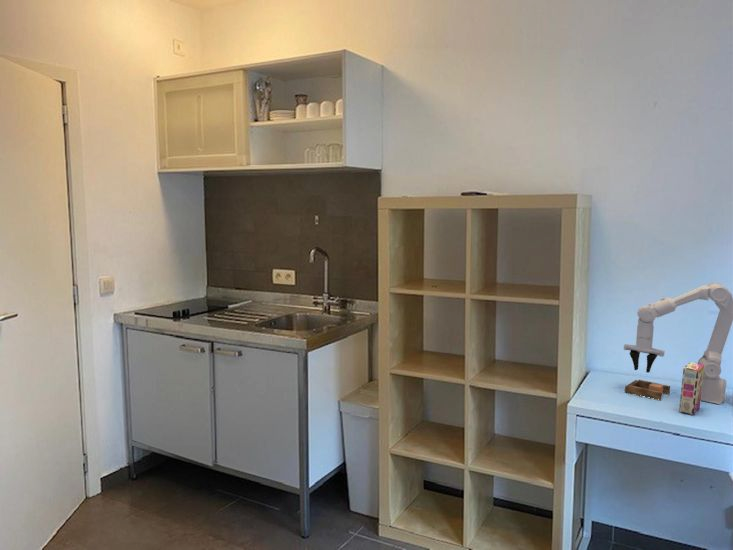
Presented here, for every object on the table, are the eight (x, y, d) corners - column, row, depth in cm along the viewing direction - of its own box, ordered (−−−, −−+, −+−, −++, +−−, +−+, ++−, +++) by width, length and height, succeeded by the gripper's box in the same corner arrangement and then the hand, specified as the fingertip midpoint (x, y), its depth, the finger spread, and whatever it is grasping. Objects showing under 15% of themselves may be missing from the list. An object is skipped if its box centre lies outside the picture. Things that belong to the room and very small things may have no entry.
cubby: (669, 393, 231) (670, 386, 231) (660, 400, 223) (660, 392, 223) (635, 386, 240) (635, 378, 240) (624, 392, 232) (625, 385, 231)
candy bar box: (694, 416, 208) (698, 370, 206) (678, 412, 211) (682, 367, 209) (700, 407, 216) (704, 363, 214) (685, 404, 219) (689, 361, 217)
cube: (662, 395, 230) (663, 385, 229) (659, 397, 227) (659, 387, 226) (651, 392, 232) (652, 382, 232) (648, 395, 229) (648, 385, 229)
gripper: (668, 338, 228) (665, 372, 230) (629, 332, 238) (626, 365, 240) (662, 341, 223) (659, 376, 225) (622, 335, 233) (620, 368, 235)
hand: (642, 370), depth 232 cm, fingers open, 4 cm apart
